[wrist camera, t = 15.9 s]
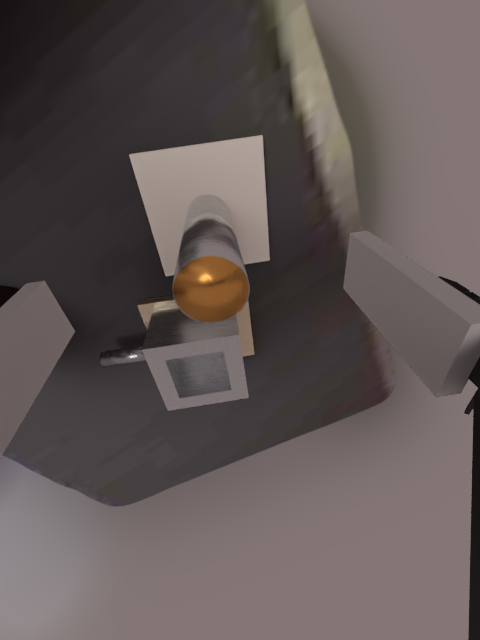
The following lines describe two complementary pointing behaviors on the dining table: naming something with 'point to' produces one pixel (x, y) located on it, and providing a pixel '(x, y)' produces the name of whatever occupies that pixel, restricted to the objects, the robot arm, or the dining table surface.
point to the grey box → (190, 354)
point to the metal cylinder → (210, 264)
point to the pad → (205, 192)
